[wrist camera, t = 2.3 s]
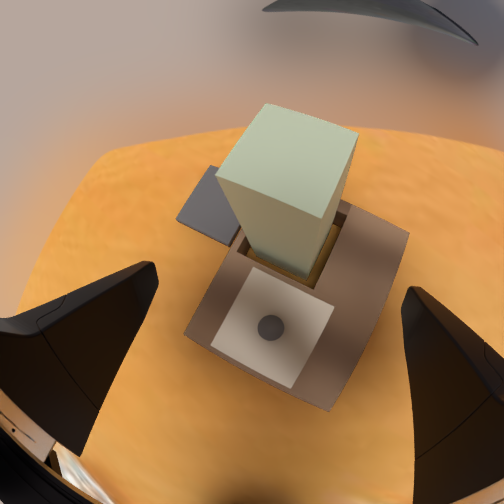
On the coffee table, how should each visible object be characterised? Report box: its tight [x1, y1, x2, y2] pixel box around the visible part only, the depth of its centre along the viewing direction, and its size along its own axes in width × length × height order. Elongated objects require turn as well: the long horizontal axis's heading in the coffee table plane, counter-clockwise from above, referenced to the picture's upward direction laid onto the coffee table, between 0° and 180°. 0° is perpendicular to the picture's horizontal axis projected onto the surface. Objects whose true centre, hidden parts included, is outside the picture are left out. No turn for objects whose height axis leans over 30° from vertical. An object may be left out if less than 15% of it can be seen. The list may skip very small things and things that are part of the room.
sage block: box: [215, 103, 359, 281], centre depth 16 cm, size 4×4×12 cm
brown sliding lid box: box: [184, 199, 410, 412], centre depth 18 cm, size 14×12×4 cm
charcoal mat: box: [176, 165, 241, 247], centre depth 23 cm, size 6×6×1 cm
